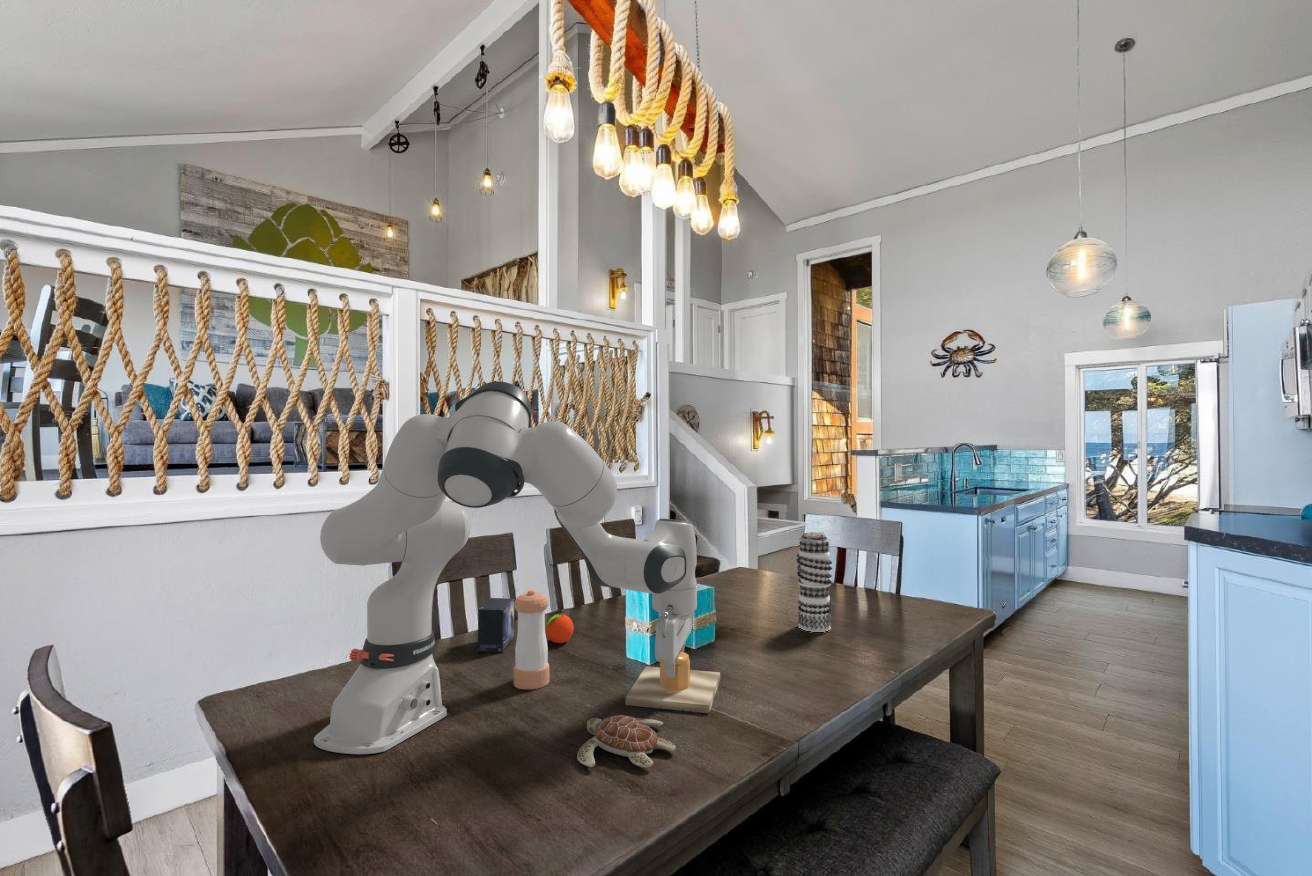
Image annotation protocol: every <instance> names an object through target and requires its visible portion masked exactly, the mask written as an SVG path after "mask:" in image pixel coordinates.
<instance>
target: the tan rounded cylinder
mask: <svg viewBox="0 0 1312 876" xmlns="http://www.w3.org/2000/svg"><path fill="white" fill-rule="evenodd" d="M689 656H690V655H689V654H688V653H686V652H685V651H684V652H679V653H678V655H677V657H676V659H675V666H676V674H675V677H674V678H667V677H666V675H665V665H664V662H659V667H660V686H662V687H663V688H665V689H667V690H682V689H685V688H688V686H689V684H690V670H691V660H690V657H689Z"/></svg>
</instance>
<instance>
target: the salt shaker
mask: <svg viewBox="0 0 1312 876" xmlns="http://www.w3.org/2000/svg"><path fill="white" fill-rule="evenodd" d="M548 606H549V599H548V598H547V596H546V595H545V594H542V593H539V592H536V591H535V590H534V589H529V590H527V592H526V593H522V594H520V595H518V596H517V597H516V599H514V610H515V611H516V612H517V636H516V641H515V649H514V651H515V652H514V653H515V654H514V655H515V664H514V666H513V686H514V687H515V688H517V689H519V690H536V689H540V688H541V689H542V688H543V687H546V686H547V685H548V684H549V683H550V664H549V662H548V652H549V649H548V641H547V637H546V636H547V634H546V630H545V629H546V622H545V620H546V617H545V616H546V614H545V610H547V608H548Z"/></svg>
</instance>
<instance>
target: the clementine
mask: <svg viewBox="0 0 1312 876" xmlns="http://www.w3.org/2000/svg"><path fill="white" fill-rule="evenodd" d="M574 626H575V625H574V623H573V621H572V618H570V617H569V616H567V615H566V614H563V613H556V614H554V615H553V616H551V617H550V618H549V619H548V620H547V622H546V623H545V634H546V636H547V637H546V638H548V639H549V640H550V641H551V642H552V643H555V644H564V643H566V642H567V641H568V640H570V639H571V637H572V636H573V633H574V629H575V628H574Z"/></svg>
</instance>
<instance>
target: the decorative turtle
mask: <svg viewBox="0 0 1312 876" xmlns="http://www.w3.org/2000/svg"><path fill="white" fill-rule="evenodd" d="M663 724H664V722H662V721H661V720H657V719H651V718H641V717H637V718H636V717H633V716H629V715H625V714H617V715H616V714H615V715H611V716H609V717H605V718H603V719H601V718H598V717H592V718H590V719H588V720H587V721H586V729H587V732H589V733H590V734H591V735H593V737H591V738H590V739H588V740H586V741H585V742H584V743H583V744H582V745H581V746H580V747H579V749H578V751H577V756H576V758H577V759H576V760H577V761H578V762H579V763H580V764H582V765H583V766H586V767H589V768H592V767H595V765H596V761H595V760H596V759H595V757H594V752H595V749H596V747H599V748H601V749H602V750H604V751H607V752H609V753H612V754H615V755H618V756H621V757H627V758H628V759H629V761H630V762H631V763H632V764H633V765H635V766H637V767H640V768H651V767H652V766H654V761H653V760H652V758H651V757H649V756H648V755H647V754H651V753H653V751H654V749H655V748H656V747H659V748H661V749H664V750H667V751H670V752H674V751H675V750H676V745H675V744H674V743H672V742H671V741H669V740H667V739H665V738H662V737H660V736H659V735H658V734H657V732H656V731H655V730H654V729H652V728H651V727H650V726H655V727H662V725H663Z"/></svg>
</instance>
